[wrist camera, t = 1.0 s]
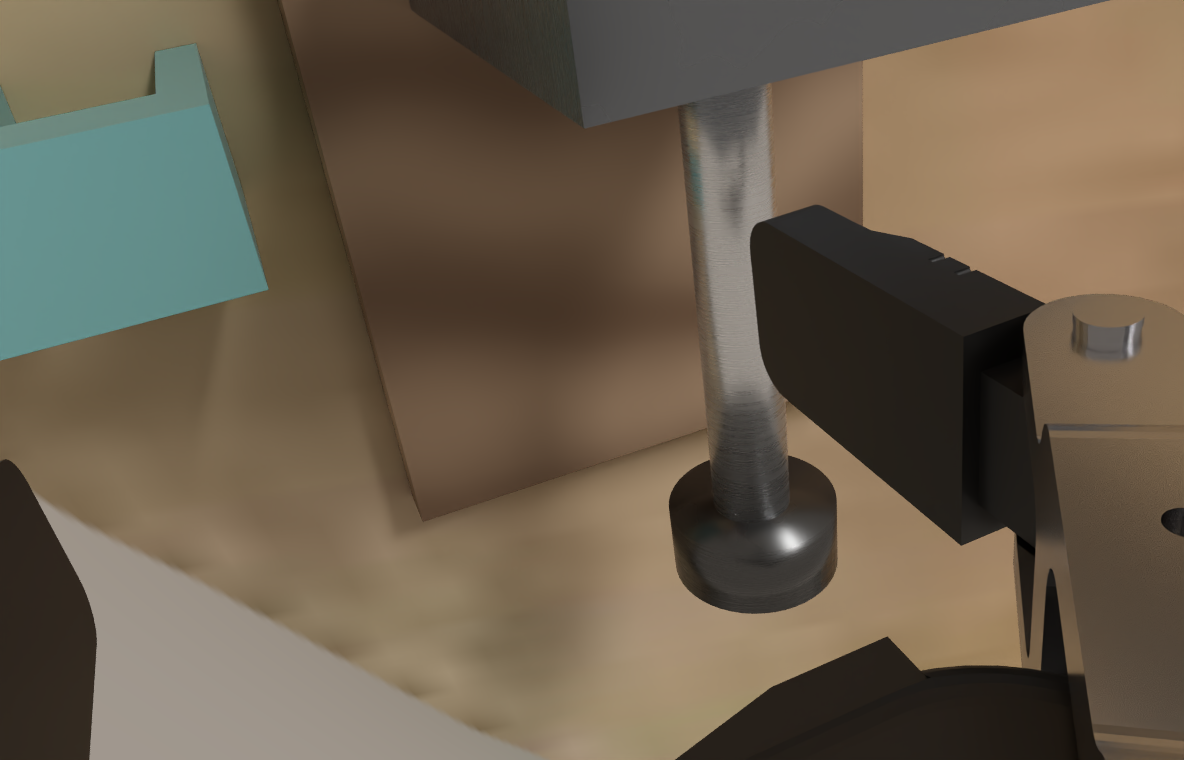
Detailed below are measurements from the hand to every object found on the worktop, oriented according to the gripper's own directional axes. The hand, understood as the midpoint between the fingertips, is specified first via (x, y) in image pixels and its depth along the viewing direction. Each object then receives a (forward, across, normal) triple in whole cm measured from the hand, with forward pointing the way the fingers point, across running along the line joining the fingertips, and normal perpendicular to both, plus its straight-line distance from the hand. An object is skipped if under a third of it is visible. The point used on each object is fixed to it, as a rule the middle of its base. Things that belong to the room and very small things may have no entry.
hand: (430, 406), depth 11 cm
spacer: (+19, +4, 0) cm, 19 cm away
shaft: (+13, -9, +6) cm, 16 cm away
